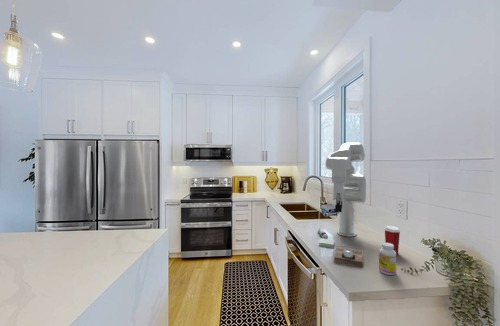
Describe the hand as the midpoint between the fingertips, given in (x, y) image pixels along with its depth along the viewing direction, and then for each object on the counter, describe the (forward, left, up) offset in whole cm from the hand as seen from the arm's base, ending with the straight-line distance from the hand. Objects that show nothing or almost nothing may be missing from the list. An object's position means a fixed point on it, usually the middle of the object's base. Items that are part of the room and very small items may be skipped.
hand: (338, 209), depth 126 cm
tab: (-7, -7, -23) cm, 25 cm away
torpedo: (-23, -12, -24) cm, 35 cm away
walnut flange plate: (+8, +5, -23) cm, 25 cm away
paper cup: (-10, +27, -24) cm, 37 cm away
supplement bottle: (+16, +22, -24) cm, 36 cm away
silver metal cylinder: (+12, +5, -23) cm, 27 cm away
